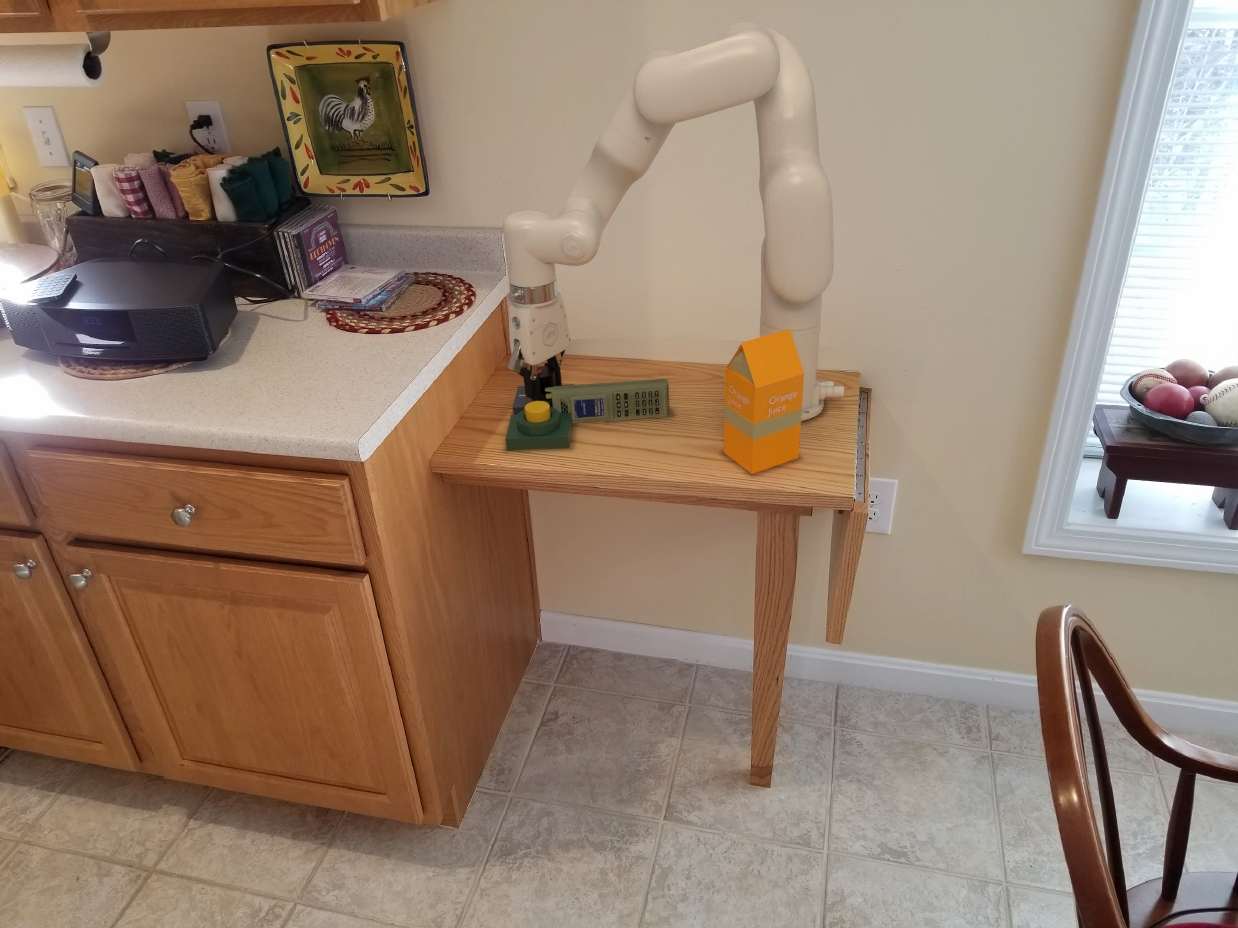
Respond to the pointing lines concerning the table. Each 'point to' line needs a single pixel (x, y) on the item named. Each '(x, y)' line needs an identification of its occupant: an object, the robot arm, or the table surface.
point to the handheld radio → (612, 400)
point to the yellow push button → (537, 411)
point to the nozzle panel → (524, 399)
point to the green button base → (539, 432)
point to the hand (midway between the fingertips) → (543, 391)
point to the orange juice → (763, 402)
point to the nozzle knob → (546, 380)
